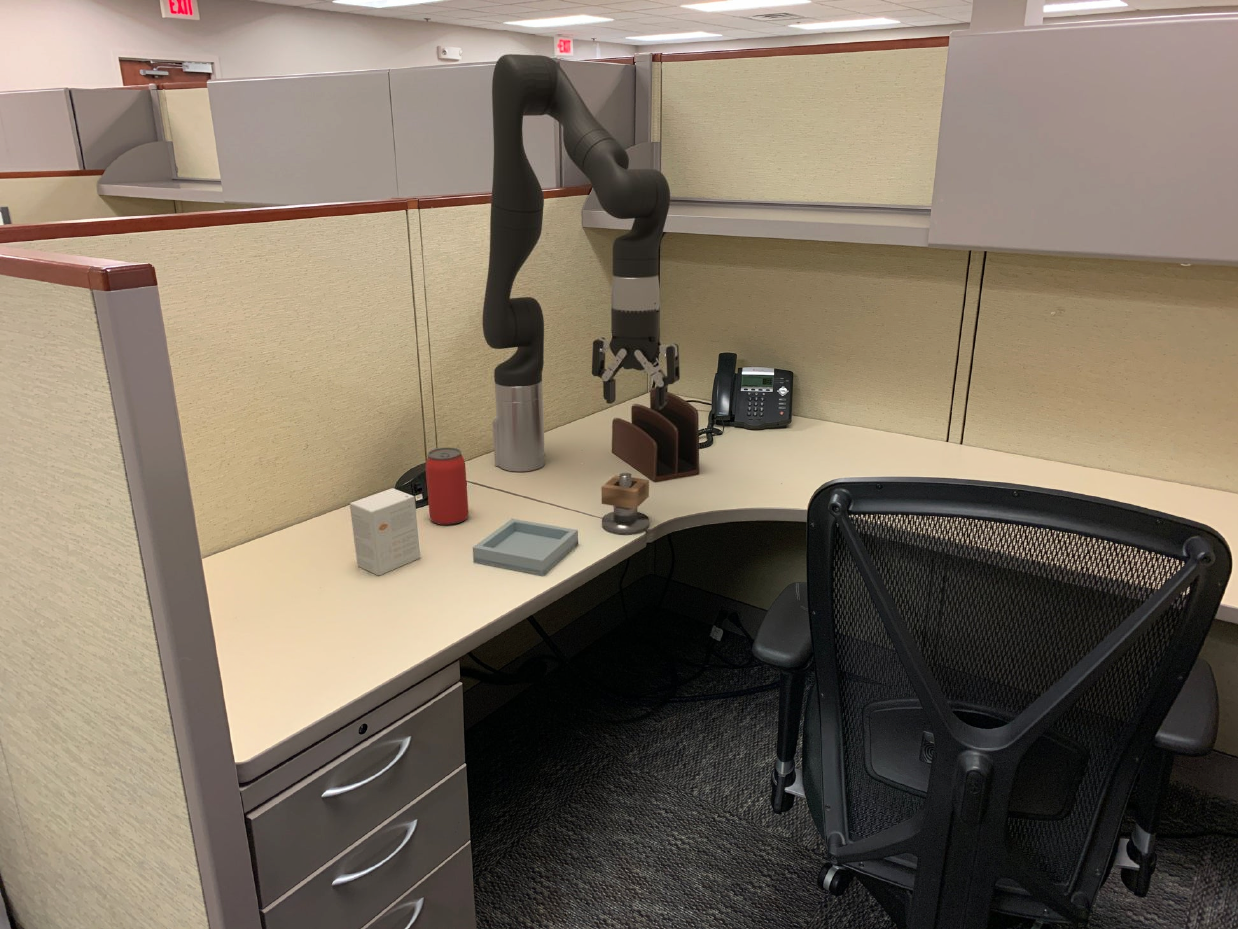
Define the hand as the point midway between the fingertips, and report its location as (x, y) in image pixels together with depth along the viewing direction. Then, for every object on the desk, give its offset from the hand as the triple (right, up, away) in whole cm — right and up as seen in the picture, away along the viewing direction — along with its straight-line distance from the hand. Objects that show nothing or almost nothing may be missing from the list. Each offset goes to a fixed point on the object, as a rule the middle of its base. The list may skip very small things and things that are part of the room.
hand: (635, 405), depth 140 cm
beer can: (-32, -19, +9) cm, 38 cm away
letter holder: (+4, -10, +35) cm, 37 cm away
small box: (-38, -25, -7) cm, 46 cm away
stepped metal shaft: (-2, -20, +6) cm, 21 cm away
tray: (-17, -23, -4) cm, 29 cm away
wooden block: (-2, -16, +4) cm, 16 cm away
